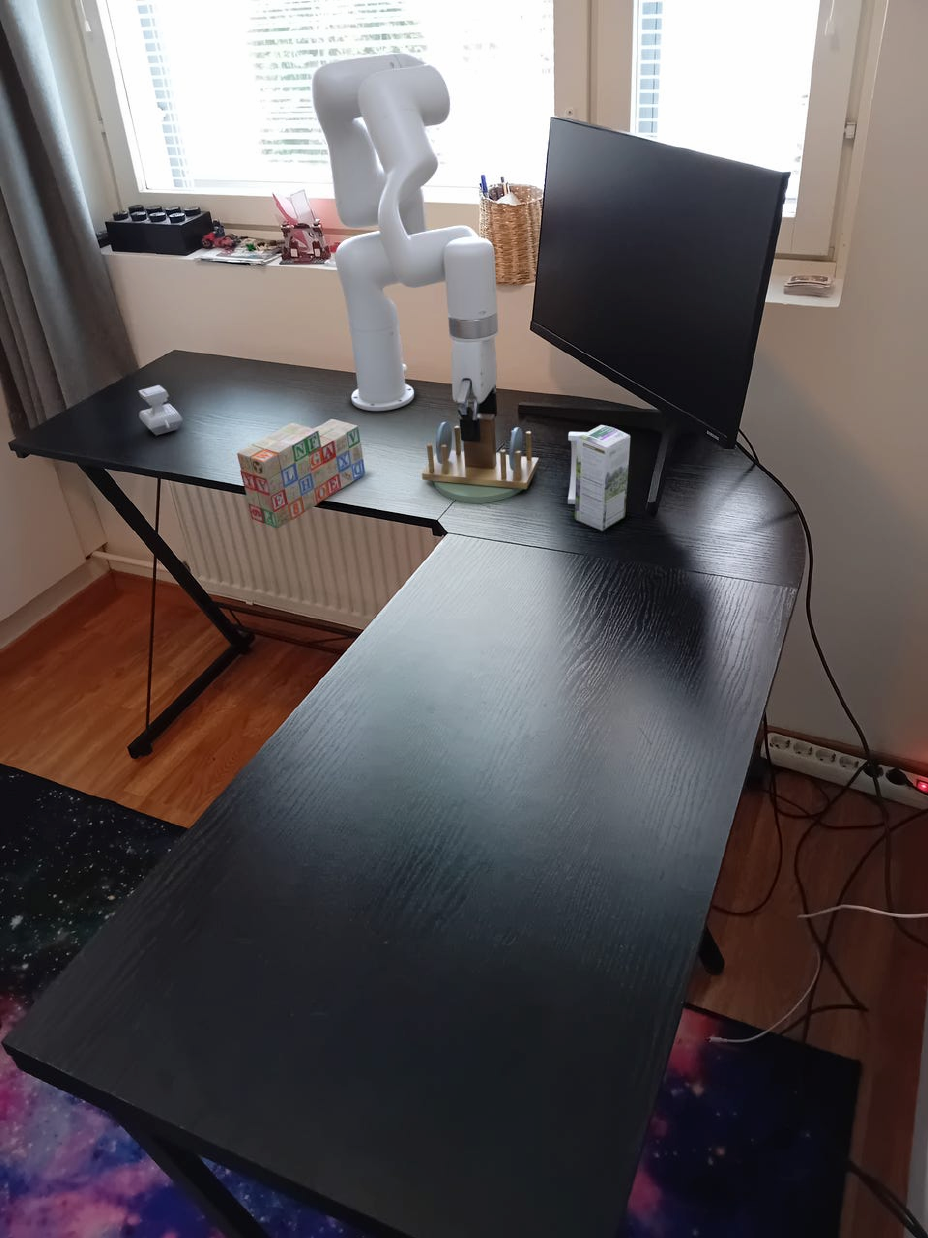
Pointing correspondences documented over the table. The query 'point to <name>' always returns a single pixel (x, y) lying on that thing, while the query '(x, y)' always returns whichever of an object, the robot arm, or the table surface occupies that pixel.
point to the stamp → (159, 411)
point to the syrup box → (601, 476)
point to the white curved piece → (573, 465)
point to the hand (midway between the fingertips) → (479, 427)
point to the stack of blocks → (299, 469)
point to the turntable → (474, 492)
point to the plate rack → (481, 458)
